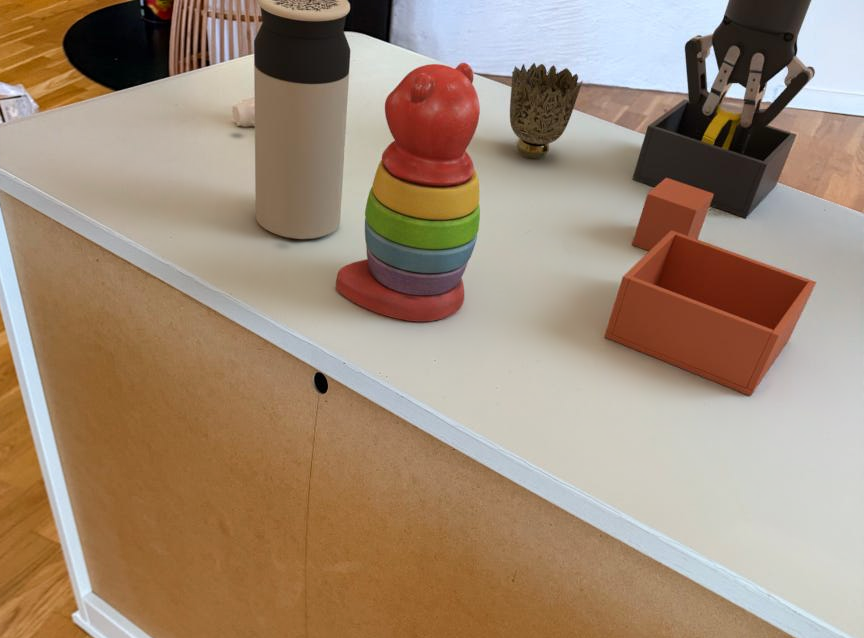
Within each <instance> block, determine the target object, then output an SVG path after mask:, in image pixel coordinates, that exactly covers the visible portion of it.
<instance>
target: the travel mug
mask: <svg viewBox="0 0 864 638" xmlns="http://www.w3.org/2000/svg"><path fill="white" fill-rule="evenodd" d="M256 3H257V5H258V6H259V8H260V9H259V10H260V15H261V22H262V23H261V25H260V27H259V29H258V31H257V33H256V36H255V38H254V40H253V55H254V56H253V58H254V59H253V61H254V63H253V67H254V68H253V71H254V72H253V73H254V77H253V79H254V80H253V83H254V86H253V87H254V88H253V89H254V98H255V127H254V180H255V181H254V182H255V183H254V184H255V185H254V187H255V188H254V190H255V191H254V192H255V193H254V194H255V195H254V196H255V197H254V198H255V203H254V205H255V220H256V222H257V223H258V224H259V226H261V227H262V228H264V230H267V231H269V232H270V233H272V234H274V235H277V236H279V237H283V238H286V239H296V240H312V239H313V240H314V239H317V238H322V237H325V236H328V235H329V234H332V233H334V232H336V230H338V229H339V227H340V225H341V213H342V195H343V179H344V163H345V147H346V134H347V133H346V129H347V113H348V100H349V99H348V97H349V82H350V65H351V47H350V45H349V42H348V39H347V37H346V33H345V31H344V30H345V29H344V28H345V23H346V19H347V15H348V14H349V13H350V10H351V3H350V2H349V0H256Z"/></svg>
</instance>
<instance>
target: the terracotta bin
mask: <svg viewBox="0 0 864 638" xmlns="http://www.w3.org/2000/svg"><path fill="white" fill-rule="evenodd" d="M620 281H621V282H620V285H619V288H618V291H617V294H616V297H615V301H614V304H613V307H612V311H611V314H610V317H609V319H608V320H609V321H608V324H607V327H606V329H605V333H604V338H606V339H608V340H611V341H613V342H616V343H618V344H621V345H623V346H625V347H628V348H631V349H633V350H636V351H638V352H640V353H643V354H645V355H648V356H651V357H653V358H655V359H658V360H661V361H663V362H665V363H667V364H670V365H673V366H675V367H677V368H680V369H683V370H685V371H687V372H690V373H692V374H695V375H697V376H700V377H702V378H705V379H707V380H709V381H713V382H715V383H717V384H720V385H722V386H725V387H728V388H730V389H732V390H734V391H737V392H740V393H742V394H744V395H746V396H750V397H751V396H752V395H753V393H754V392H755V391H756V389H757V388H758V386H759V385H760V383H761V382H762V380H763V379H764V378H765V376H766V375H767V373H768V372H769V370H770V369H771V367H772V366H773V365H774V363H775V361H776V360H777V359H778V357H779V355H780V354H781V353H782V351H783V350H784V348H785V347H786V345H787V344H788V342H789V341H790V339H791V336H792V335H793V333H794V330H795V328H796V326H797V324H798V322H799V320H800V318H801V316H802V314H803V312H804V309H805V307H806V305H807V303H808V301H809V299H810V296H811V294H812V293H813V291H814V289H815V286H816V284H817V281H815V280H812V279H810V278H806V277H804V276H801V275H798V274H795V273H792V272H790V271H787V270H784V269H781V268H779V267H776V266H773V265H770V264H768V263H766V262H765V263H764V262H762V261H758V260H757V259H753V258H751V257H747V256H745V255H742V254H739V253H736V252H733V251H731V250H728V249H724V247H723V248H722V247H720V246H717V245H714V244H711V243H708V242H705V241H702V240H700V239H698V240H697V239H695V238H692V237H689V236H686V235H683V234H681V233H677V232H675V231H672V230H671V231H670V232H669V233H668V234H667V235H666V236H665V237H664V238H663V239H662V240H661V241H660V242H659V243H657V244H656V245H655V246H654V247H653V248H652V249H651V250H650V251H648V252H647V253H646V254H645V255H644V256H642V258H641V259H640V260H638V261H637V262H636V263H635V264H634V265H633V266H632V267H631V268H630V269H629V270H628V271H627V272H626V273H625V274H623V276H622V278H621V280H620Z"/></svg>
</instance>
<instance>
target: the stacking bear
mask: <svg viewBox="0 0 864 638" xmlns="http://www.w3.org/2000/svg"><path fill="white" fill-rule="evenodd" d="M473 82H474V71H473V69H472V67H471V65H469V64H468V63H467V62H461V63H459V64H458V65H457V66H456V67H455V68H453V67H451V66H449V65H445V64H438V63H431V64H425V65H420V66H418V67H416V68H414V69H413V70H411V71H410V72H408V73H407V74H406V75H405V76H404V77H403V78H402V80H401V81H400V82H399V83H398V84H397V85H396V87H395V88H394V89H393V90H392V91H391V92H389V94H388V95H387V96H386V99H385V102H384V114H385V120H386V124H387V126H388V127H387V128H388V130H389V132H390V134H391V136H392V139H393V141H392V142H390V144H388V145H387V147H386V148H385V149H384V150H383V152H382V154H381V160H380V161H379V164H378V166H377V168H376V171H375V174H374V177H373V181H372V186H371V188H370V190H369V192H368V196H367V200H366V203H365V210H364V240H365V245H366V246H365V250H366V258H367V259H363V260H359V261H355V262H351V263H348V264H346V265H344V266H342V267H341V268H340V269H339V270H338V272H337V275H336V280H335V288H336V289H337V291H338V292H339V293H340V294H341V295H342V296H344V297H345V298H347V299H348V300H350V301H351V302H353V303H355V304H356V305H359V306H360V307H363V308H365V309H367V310H370V311H372V312H374V313H376V314H377V313H378V314H380V315H383V316H387V317H390V318H394V319H398V320H403V321H404V320H405V321H409V322H433V321H438V320H442V319H446V318H448V317H450V316H452V315H454V314H456V312H458V311H459V310H460V309H461V308H462V307H463V305H464V301H465V286H464V280H463V276H464V273H465V272H466V269H467V266H468V263H469V261H470V259H471V257H472V255H473V252H474V250H475V246H476V243H477V240H478V233H479V228H480V217H481V207H480V180H479V179H480V178H479V175H478V173H477V171H476V169H475V165H474V162H473V160H472V158H471V156H470V154H469V153H468V152H467V151H466V150H467V149H468V147H469V146H470V144H471V142H472V140H473V138H474V136H475V134H476V131H477V127H478V126H479V119H480V112H481V107H480V106H481V105H480V100H479V96H478V92H477V90H476V88H475V86H474V85H473Z"/></svg>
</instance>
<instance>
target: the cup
mask: <svg viewBox="0 0 864 638" xmlns="http://www.w3.org/2000/svg"><path fill="white" fill-rule="evenodd" d="M557 71H558V69H557V68H556V66H555V65H551V66H550V67H549V70H548V71H547V68H546V66H545V65H544V64H543V63H541V64H539V65H536V63H535V62H533V63H532V64H531V66H530V67H529V68H528V69H526V66H525V63H523V64H522V66H521V68H518V67H517V66H516V65H515V66H514V68H513V71H512V72H511V87H510V88H511V89H510V100H509V101H510V102H509V122H510V127H511V130H512V132H513V134H514V135H515V136H516V137H517V138H518V139H517V141H516V149H517V150H516V151H517V152H518V153H519V154H520V155H522V156H524V157H526V158H530V159H540V158H544V157H546V156H547V154H548V153H549V151H550V144H552V143H553V142H555V141H557V140H558V139H560V137H561V136H562V135H563V134H564V132H565V130H566V128H567V127H568V124H569V122H570V119H571V116H572V114H573V111H574V108H575V105H576V102H577V99H578V96H579V93H580V90H581V88H582V85H583V81H584V80H581V81H579V84H578V80H579V76H578V73H575V74H574V75H573V74H572V72H571V70H570V69H569V68H566V67H565V68H564V69H562V70H560V71H558V72H557Z"/></svg>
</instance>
